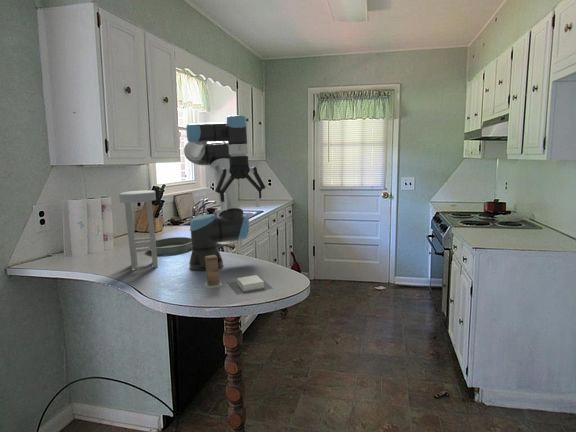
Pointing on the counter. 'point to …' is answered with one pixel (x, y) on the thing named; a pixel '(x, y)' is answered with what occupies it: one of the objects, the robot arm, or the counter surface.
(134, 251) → the stool
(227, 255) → the counter surface
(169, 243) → the cake pan
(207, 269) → the block
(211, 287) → the rest pad
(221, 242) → the kitchen cleaver
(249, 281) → the tile
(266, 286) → the mat
